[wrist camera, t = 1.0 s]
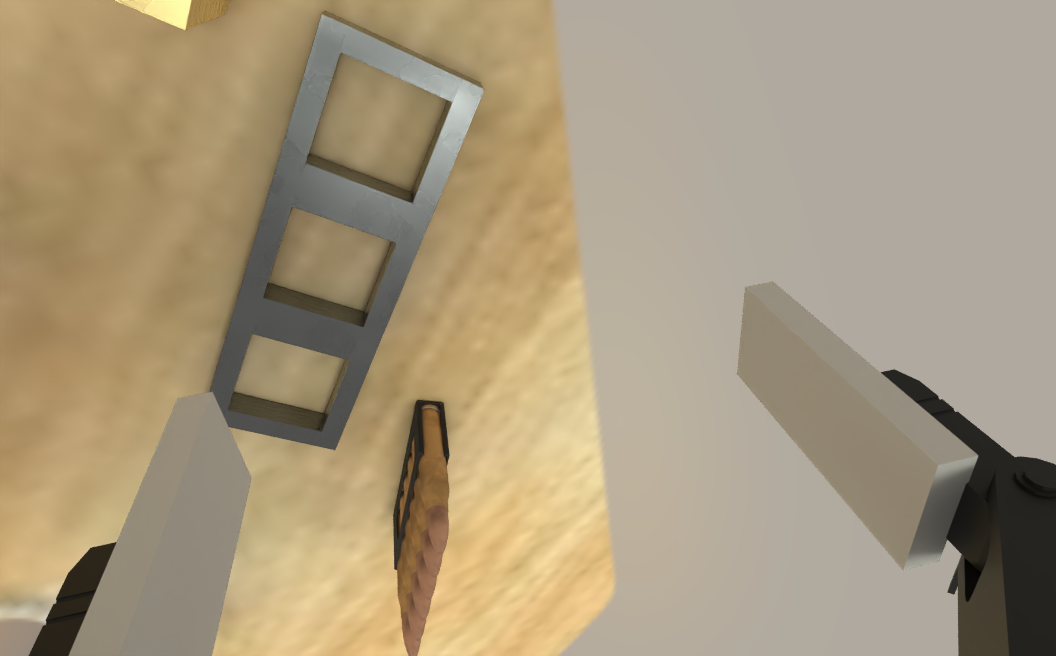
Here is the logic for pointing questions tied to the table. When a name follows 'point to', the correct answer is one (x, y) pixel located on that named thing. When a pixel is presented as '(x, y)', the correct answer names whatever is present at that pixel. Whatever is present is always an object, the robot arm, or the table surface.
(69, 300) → the table surface
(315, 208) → the grey slotted plate
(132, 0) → the block
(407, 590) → the ammunition clip
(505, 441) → the table surface
